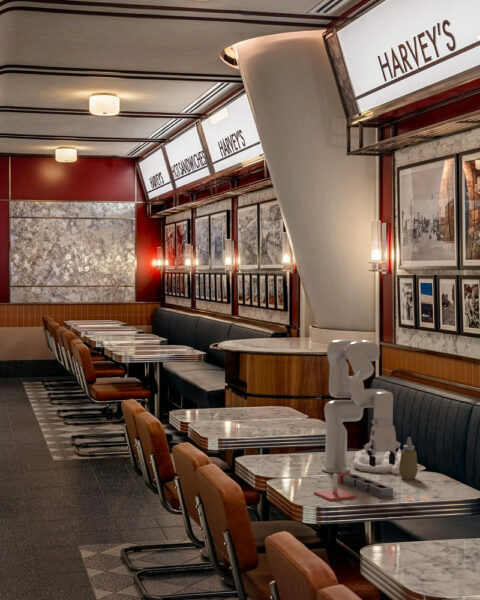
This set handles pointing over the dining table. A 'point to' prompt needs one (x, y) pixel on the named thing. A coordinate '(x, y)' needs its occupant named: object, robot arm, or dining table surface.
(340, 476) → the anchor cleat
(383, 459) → the pretzel
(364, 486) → the link
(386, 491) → the end link
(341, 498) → the keeper
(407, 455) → the squeeze bottle
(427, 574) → the dining table surface
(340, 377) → the robot arm
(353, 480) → the link
